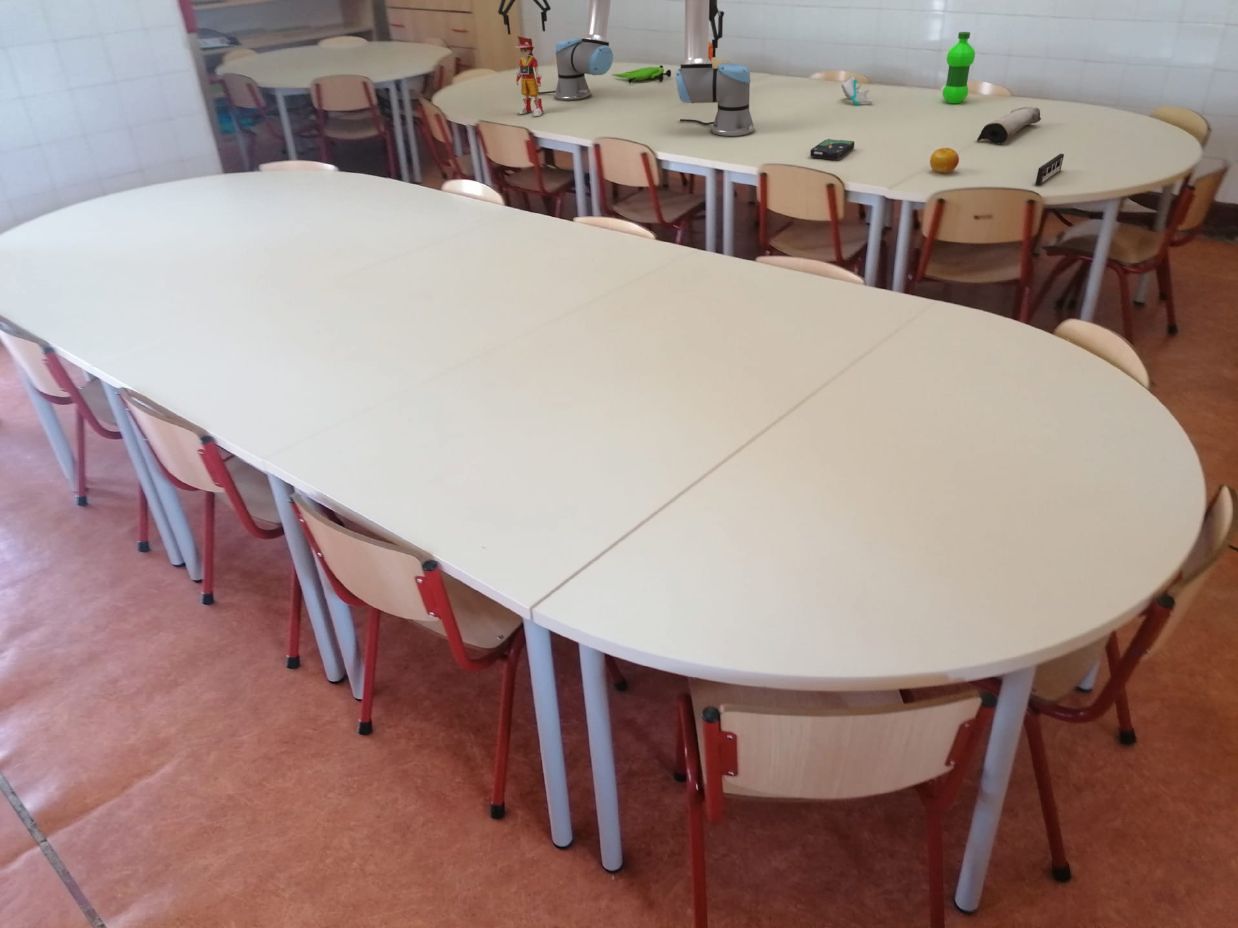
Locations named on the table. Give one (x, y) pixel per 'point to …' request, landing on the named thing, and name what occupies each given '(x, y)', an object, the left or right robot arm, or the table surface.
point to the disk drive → (832, 149)
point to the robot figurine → (710, 51)
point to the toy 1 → (529, 77)
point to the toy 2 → (645, 74)
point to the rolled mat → (1009, 124)
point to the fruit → (944, 160)
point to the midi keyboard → (1049, 169)
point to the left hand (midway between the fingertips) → (526, 32)
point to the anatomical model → (855, 92)
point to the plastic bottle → (958, 69)
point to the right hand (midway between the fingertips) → (707, 57)
